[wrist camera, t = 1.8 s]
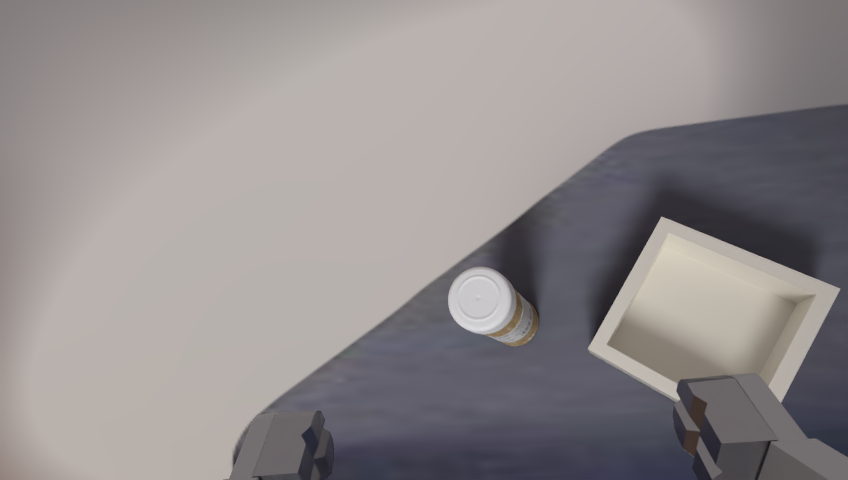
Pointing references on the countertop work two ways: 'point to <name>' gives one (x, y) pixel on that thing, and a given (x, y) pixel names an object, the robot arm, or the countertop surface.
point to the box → (710, 314)
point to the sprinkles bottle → (492, 307)
